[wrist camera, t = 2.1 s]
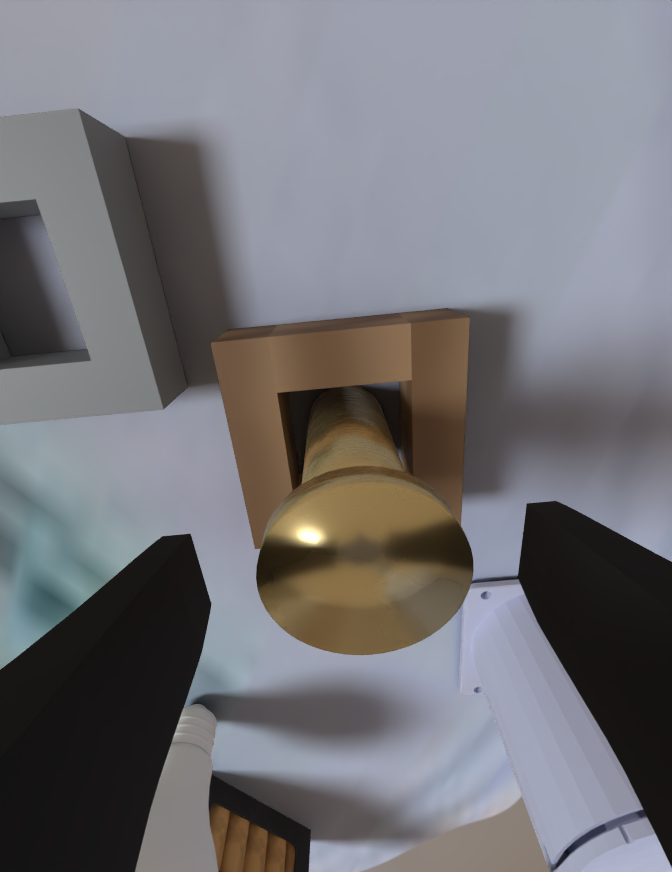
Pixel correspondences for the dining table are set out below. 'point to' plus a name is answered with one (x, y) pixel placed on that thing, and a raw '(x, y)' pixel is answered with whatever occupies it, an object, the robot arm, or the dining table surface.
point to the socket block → (88, 273)
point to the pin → (361, 540)
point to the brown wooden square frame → (337, 367)
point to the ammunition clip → (254, 834)
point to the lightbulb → (183, 801)
